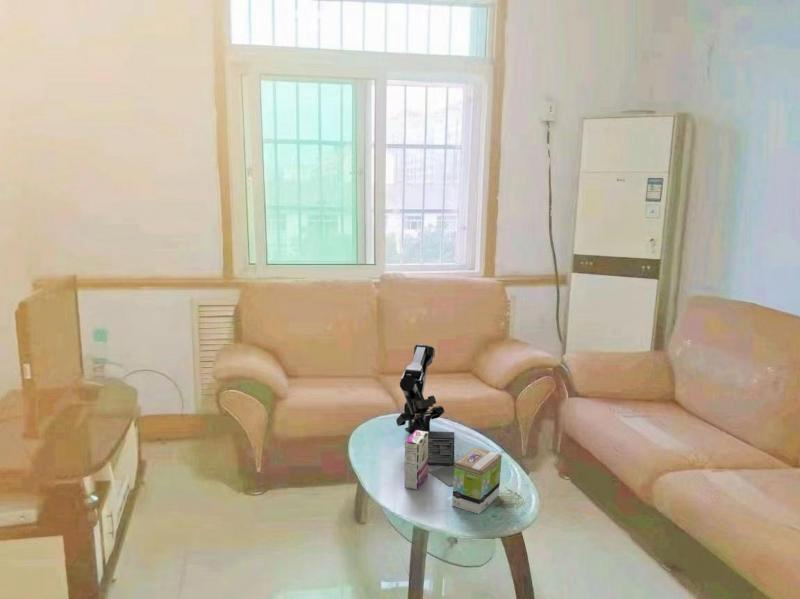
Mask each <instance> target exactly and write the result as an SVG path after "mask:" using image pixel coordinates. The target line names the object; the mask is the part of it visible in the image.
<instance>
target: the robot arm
mask: <svg viewBox="0 0 800 599" xmlns="http://www.w3.org/2000/svg"><path fill="white" fill-rule="evenodd" d="M435 357H436V350H435V348H434V347H433V346H430V345H428V344H423V343H422V344H421V343H417V344H416V345H414V348H413V357H412V359H411V360H412V361H411V363H409V364H408V365H407V366H406V368H405V370H404V371H403V373H402V376H401V378H400V382H399V387H400V389H401V391H402V394H403V395H404V397H405V398H404V399H405V400H406V402H404V409H403V410H404V412H401V413H400V414H399V415H398V417H397V418H396V425H397V426H398V427H401V426H405V425H406V424H408V425H407V426H408V427H407V426H406V427H405V428H404V430H405V429H406V430H405V431H407V430H408V431H409V433H410V434H411V435H412V434H413V433H414V432H415V430H420V431H431V425H430V424H431V420H435V419H439V418H440V417H441V416H443V414H444V413H445V412H446V411H445V409H444V407H443V406H442V405H438V406H434V405H436V403H437V401H436V397H435V395H430V396H428V397H427V398H425V397H424V390H425V384H426V379H427V372H428V367H429V366H430V365H431V364H432V363H433V361H434V358H435ZM430 408H431V409H430ZM407 422H408V423H407ZM408 431H407V432H408Z"/></svg>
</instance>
